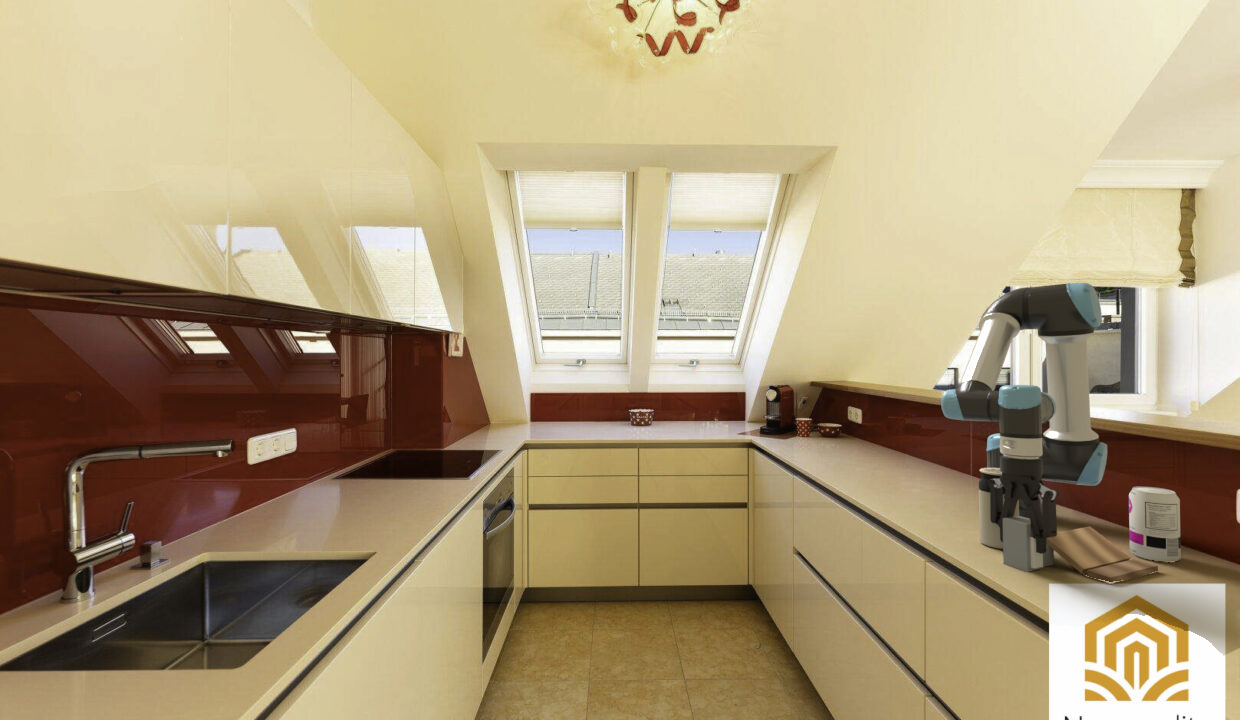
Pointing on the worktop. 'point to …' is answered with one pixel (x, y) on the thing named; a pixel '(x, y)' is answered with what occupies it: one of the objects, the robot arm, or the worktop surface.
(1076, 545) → the plank
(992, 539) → the travel mug
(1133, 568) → the laid row
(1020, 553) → the block
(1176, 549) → the supplement can
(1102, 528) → the worktop surface
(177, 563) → the worktop surface
